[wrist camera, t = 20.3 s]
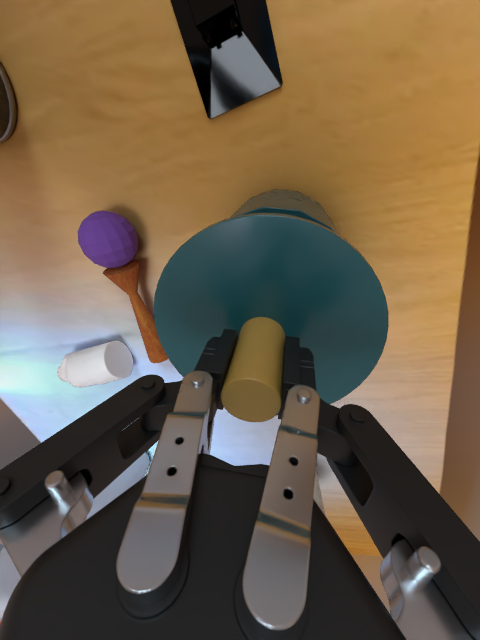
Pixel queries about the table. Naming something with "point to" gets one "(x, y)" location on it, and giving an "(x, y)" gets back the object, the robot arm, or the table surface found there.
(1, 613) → the plastic bottle
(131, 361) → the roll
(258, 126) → the table surface
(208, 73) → the black stand
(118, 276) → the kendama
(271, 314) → the teal pot lid
